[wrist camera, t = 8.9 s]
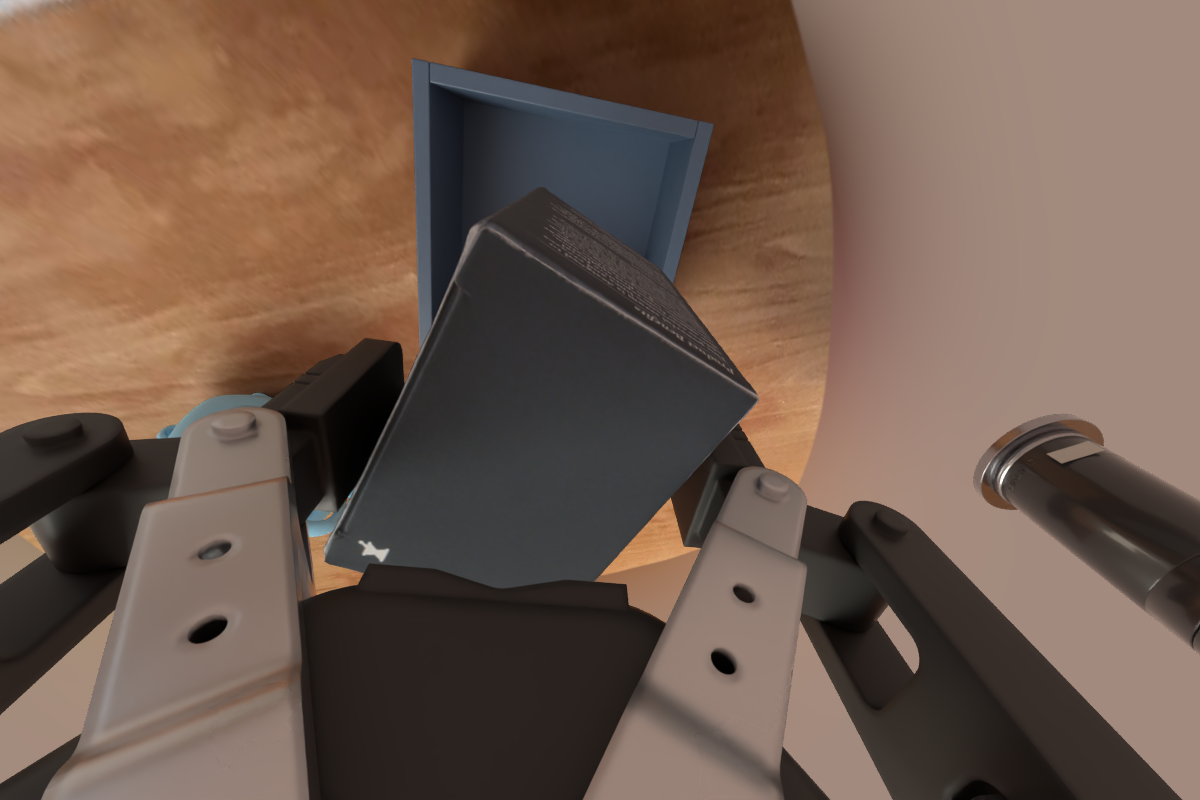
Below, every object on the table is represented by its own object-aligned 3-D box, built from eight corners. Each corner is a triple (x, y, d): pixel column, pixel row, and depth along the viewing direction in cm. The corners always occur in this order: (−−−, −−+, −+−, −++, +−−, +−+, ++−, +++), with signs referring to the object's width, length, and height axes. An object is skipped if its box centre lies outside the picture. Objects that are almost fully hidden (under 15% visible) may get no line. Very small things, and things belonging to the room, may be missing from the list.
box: (563, 416, 20) (548, 643, 10) (447, 355, 18) (306, 561, 9) (667, 268, 17) (774, 404, 7) (538, 179, 15) (468, 209, 6)
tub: (682, 132, 28) (714, 123, 21) (635, 340, 35) (648, 382, 28) (453, 83, 26) (411, 57, 20) (451, 312, 33) (419, 350, 27)
